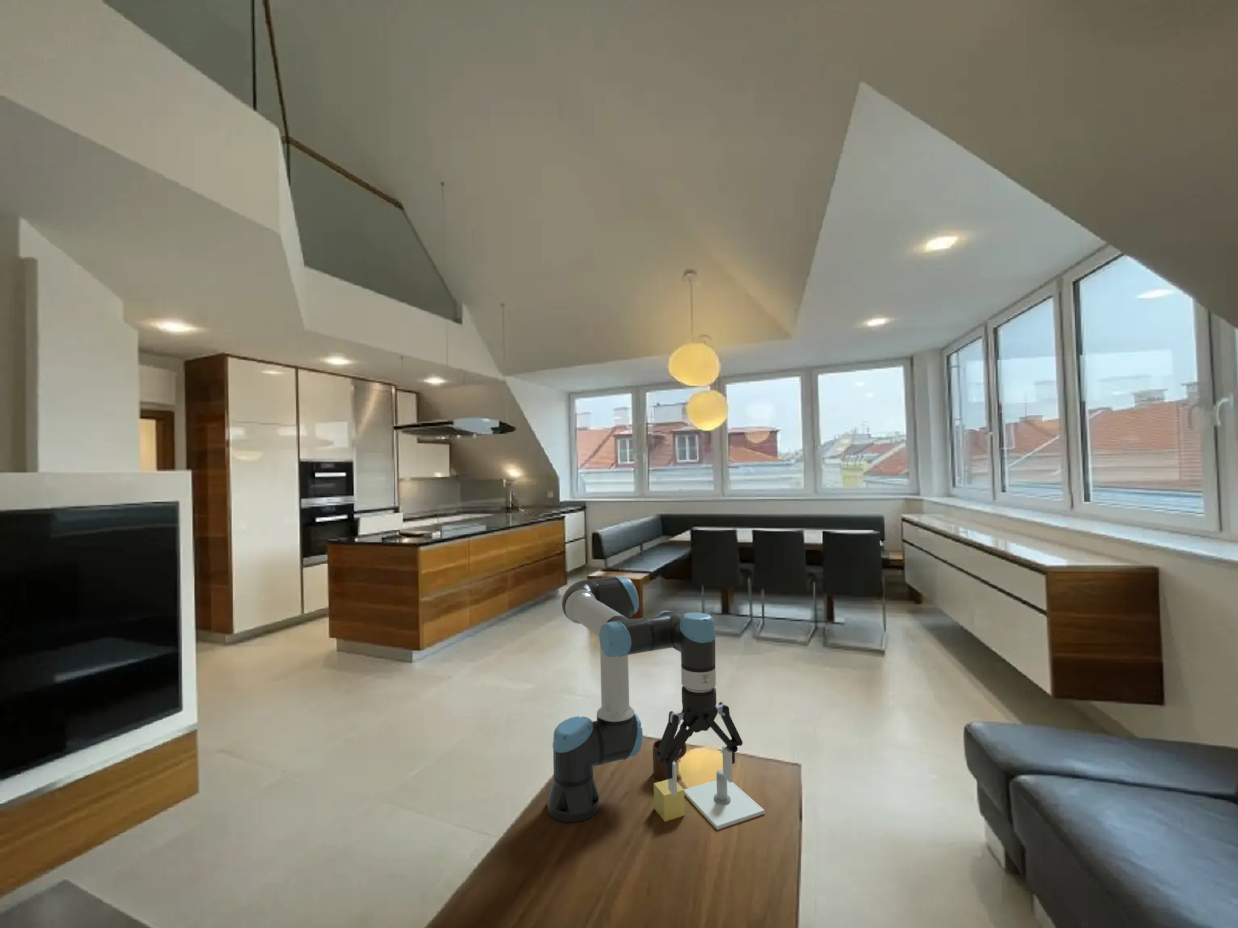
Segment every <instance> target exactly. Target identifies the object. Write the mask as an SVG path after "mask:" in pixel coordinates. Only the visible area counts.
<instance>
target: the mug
mask: <svg viewBox="0 0 1238 928" xmlns="http://www.w3.org/2000/svg"><path fill="white" fill-rule="evenodd" d="M660 742H661V739H659V740H658V739H657V740H656V741H654V742H653V745H652V773H653V776H654V777H655V778H656V779H657V780H660V781H664V780H668V778H667V777H666V776H665V773H664V763H661V762H660V761H659V760H658V758H657V757H656V752H657V749H658V747H659V744H660ZM687 749H688V748H687V744H686V743H685V744H684V746H683V747H682V749H681V750H680V752H679V754H678V755H677V757H676V758H675V760H674V762H675V763H676V764H677V762H678V760H679V759H681V758H683V757H684V756H685V755H686V753H687Z"/></svg>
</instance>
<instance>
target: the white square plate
mask: <svg viewBox="0 0 1238 928" xmlns="http://www.w3.org/2000/svg"><path fill="white" fill-rule="evenodd" d="M715 773H716V780H712V781H708V782H705V783H702V784H699V785H695V786H691V787H687V788H683V789H684V797H686V798H687V799H688V801H690V803H692V804H693V806H694V807H695V808H696V809H697V810H698V811H699V812H700V813H701V814H702V816H704V818H705V819H707V821H708V823H710V824H711V825H712V826H713V827H714V828H715V829H716V830H721V829H724V828H726V827H730V826H733V825H736V824H738V823H742V822H744V821H748V820H750V819H753V818H756V817H759V816H763V815H765V809H764V808H763V807H761V806H760V805H759V804H758V803H757V802H756V801H755V800H753V798H751V797H750V796H749V795H748V794H747V793H746V792H745V791H743V790H742V789H741V788H740V787H739V786H738V785H737V784H736V783H734V782H729V781H728V780H727V779H726V778H725V777H724V776H723V769H719V770H716V772H715Z"/></svg>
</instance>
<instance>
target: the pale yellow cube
mask: <svg viewBox="0 0 1238 928" xmlns="http://www.w3.org/2000/svg"><path fill="white" fill-rule="evenodd" d="M684 789H685V788H683V787H682V786H681V785H680V783H679V782H677V796H673V795H672V793H671V792H670V791H669V789H668V780H664V781H663V780H660V781H657V782H654V783H653V802H654V803H653V808H654V810H655V811H656V813H657V814H658V815H659V817H661V819H662V820H663V822H664V823H666V822H669V821H672V820H675V819H678V818H682V817H683V816H686V814H685V813H686V811H685V800H686V799H685V795H684Z"/></svg>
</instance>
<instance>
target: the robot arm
mask: <svg viewBox="0 0 1238 928" xmlns="http://www.w3.org/2000/svg"><path fill="white" fill-rule="evenodd" d="M639 607H640V601H639V594H638V591H637V588H636V586H635V584H634V582H633V581H632V580H631V579H630V578H629V577H627V576H610V577H609V576H608V577H600V578H591V579H581V580H579V581H576V582H575V583H573V584H572V585H570V586H569V587H568V588H567V589H566V590H565V592H564V594H563V596H562V599H561V610H562V613H563V614H564V615H565V617H566V618H567V619H568V620H570V621H571V622H572V623H574V624H578V625H579V624H581V625H582V626H583V627H585V628H586V629H588V630H589V631H590V632H591V633H593V634H594V635H596V636H597V637H598V639H599V646H600V647H599V653H600V654H599V656H600V657H599V658H600V659H599V660H600V695H601V696H600V697H601V699H600V700H601V706H600V707H599V708H598V709H597V711H596V720H592V719H591V718H590V717H586V716H573V717H570V718H567V719H565V720H563V721H562V722H560V723H558V725H557V726H556V727H555V729H554V731H553V739H552V749H553V750H552V751H553V756H552V757H553V781H552V783H551V787H550V791H549V794H548V796H547V797H548V798H547V811H548V814H549V815H550V816H551V817H552V818H553V819H555V820H557V821H559V822H563V823H578V822H582V821H586V820H587V819H588V820H589V819H590V818H592V817H593V816H594V815H595V814H596V813H597V812H598V811H599V809H600V805H601V804H600V793H599V790H598V786H597V784H596V781H595V777H594V767H598V766H601V765H604V764H609V763H613V762H617V761H623V760H627V759H628V758H631V757H635V756H636V755H637V754H638V753H639V752H640V750H641V747H642V744H643V738H644V735H643V734H644V733H643V728H642V722H641V719H640V717H639V716H638V715H637V713H635V710H634V708H633V707H631V705H630V684H629V683H630V682H629V681H630V680H629V679H630V675H629V655H630V656H631V655H635V654H641V653H647V652H654V651H659V650H665V649H666V650H667V649H674V650H676V651H678V652H680V661H681V665H680V667H681V669H680V671H681V672H680V673H681V674H680V675H681V677H680V678H681V685H682V687H681V704H682V710H681V712H674V711H673V710H671V711H669V712H668V718H667V719H668V722H667V724H666V727H665V730H664V732H663V734H662V737H661V738H660V740H661V742H660V744H659V747H658V749H657V752H656V757H657V758H658V760H659V761H660V762H661V763H664V773H665V776H666V777H667V778H668V789H669V791H670V792H671V793H672V795H673V796H677V783H678V772H677V770H678V769H677V768H678V767H677V762H676V763H675V762H674V760H675V758H676V757H677V755H678V754H679V752H680V751H681V749H682V747H683V746H684V744H686V742H688V739H689V738H691V737H692V736H693V734H694V733H700V732H702V731H704V732H707V731H709V729H710V728H711V729H712V731H713V732H714V733H715V734H716V735H717V736H718V737H719V738H720V740H721V741H722V742H723V743H724V745H723V746H722V749H721V750H722V770H723V776H724V777H725V778H726V779H727V780H728V781H729V782H733V765H734V764H735V763H736V752H738V751H739V750H738V748H739V746H740V747H741V746H743V744H744V743H743V740H742V738H741V736H740V733H739V731H738V730H737V728H736V726H735V723H734V721H733V720H732V717H731V714H730V707H729V706H728V705H727V704H725V703H724V702H722V701H720V702H719V703H718V705H717V689H716V686H717V682H716V681H717V678H716V677H717V675H716V674H717V673H716V672H717V671H716V635H717V634H716V632H715V631H716V630H715V620H714V617H712V616H711V615H710V614H708V613H704V612H703V613H702V612H695V611H694V612H693V611H691V612H686V613H684V614H682V615H681V614H679V613H678V612H675V611H670V610H661V611H660V612H658V613H657V614H656V615H655V616H648V617H640V618H633V615H635V614H636V613H637V612H638V611H639ZM717 715H720V718H721V720H722V721H723V724H724V726H725V728H726V730H727V732H728V733H729V736H730V737H728V735H727V734H726V733H725V732H724V731H723V729H721V727H720V726H719V725H718V723H717V722H716V721H715V719H716V717H717ZM681 721H682V722H681ZM687 727H688V729H687ZM678 728H679V729H678ZM730 738H731V739H730ZM733 783H734V782H733Z"/></svg>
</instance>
